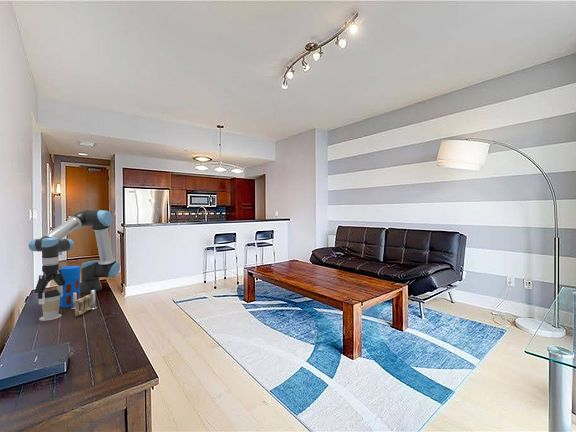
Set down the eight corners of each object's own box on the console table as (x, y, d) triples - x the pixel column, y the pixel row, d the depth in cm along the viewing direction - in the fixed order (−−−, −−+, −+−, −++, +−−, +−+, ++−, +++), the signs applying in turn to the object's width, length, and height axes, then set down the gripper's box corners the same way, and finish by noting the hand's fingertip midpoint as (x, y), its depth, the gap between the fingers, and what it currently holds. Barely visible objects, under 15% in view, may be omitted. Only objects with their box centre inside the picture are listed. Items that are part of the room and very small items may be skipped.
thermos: (83, 302, 195) (83, 266, 195) (70, 307, 185) (70, 269, 184) (69, 301, 197) (69, 265, 196) (55, 307, 186) (55, 268, 185)
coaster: (48, 314, 173) (48, 313, 173) (65, 314, 173) (65, 313, 173) (34, 320, 163) (34, 320, 163) (52, 320, 163) (52, 320, 163)
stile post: (73, 307, 186) (73, 291, 186) (80, 307, 186) (80, 291, 186) (69, 309, 182) (69, 293, 182) (76, 309, 182) (75, 293, 182)
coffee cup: (49, 320, 163) (49, 294, 163) (36, 318, 165) (36, 292, 164) (64, 314, 172) (64, 289, 171) (52, 313, 173) (52, 288, 173)
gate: (90, 307, 182) (90, 293, 182) (92, 307, 182) (92, 293, 182) (75, 316, 168) (75, 300, 168) (77, 316, 168) (77, 300, 168)
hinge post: (91, 307, 186) (91, 289, 185) (98, 307, 186) (98, 289, 186) (87, 309, 181) (87, 291, 181) (94, 309, 181) (94, 291, 181)
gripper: (59, 260, 180) (60, 293, 180) (25, 269, 155) (26, 307, 156) (72, 260, 180) (72, 293, 181) (39, 269, 155) (40, 307, 156)
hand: (51, 300), depth 168 cm, fingers open, 13 cm apart
